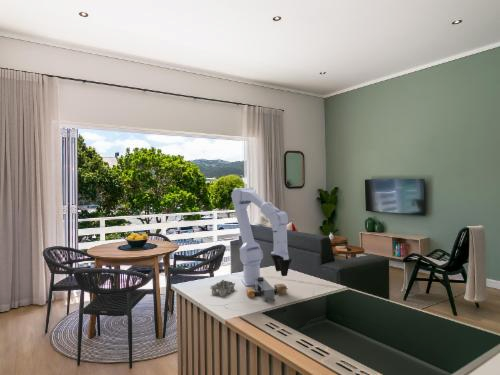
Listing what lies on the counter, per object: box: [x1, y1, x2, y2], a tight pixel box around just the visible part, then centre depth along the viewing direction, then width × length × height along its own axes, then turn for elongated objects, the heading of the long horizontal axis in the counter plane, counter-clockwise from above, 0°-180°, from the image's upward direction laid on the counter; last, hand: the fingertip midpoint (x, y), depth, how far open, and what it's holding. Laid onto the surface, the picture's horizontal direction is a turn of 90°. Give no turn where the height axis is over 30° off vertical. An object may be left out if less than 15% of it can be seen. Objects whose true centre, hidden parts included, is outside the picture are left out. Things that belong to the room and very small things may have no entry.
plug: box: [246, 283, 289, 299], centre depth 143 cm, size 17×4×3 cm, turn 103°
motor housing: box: [254, 276, 275, 302], centre depth 142 cm, size 16×4×5 cm, turn 13°
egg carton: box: [209, 279, 236, 296], centre depth 148 cm, size 11×8×4 cm
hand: (281, 273), depth 144 cm, fingers open, 7 cm apart
